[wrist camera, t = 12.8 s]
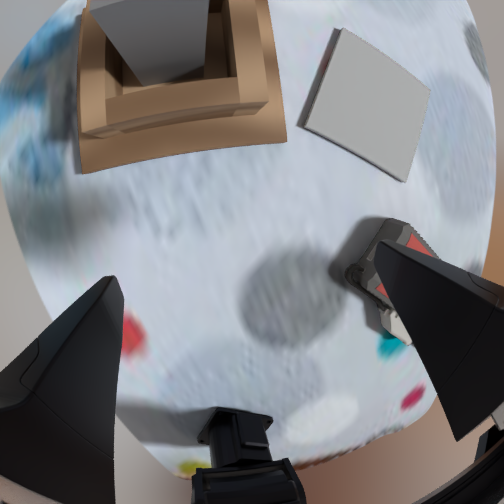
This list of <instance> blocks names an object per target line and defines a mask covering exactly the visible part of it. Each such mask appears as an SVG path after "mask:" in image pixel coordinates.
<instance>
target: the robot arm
mask: <svg viewBox="0 0 504 504" xmlns="http://www.w3.org/2000/svg"><path fill="white" fill-rule="evenodd" d="M373 263H374V267H375V269H376V271H377V274H378V276H379V278H380V280H381V282H382V284H383V287H384V289H385V291H386V293H387V295H388V297H389V299H390V301H391V303H392V305H393V307H394V309H395V310H396V312H397V314H398V316H399V318H400V319H401V321H402V323H403V325H404V327H405V329H406V331H407V333H408V334H409V336H410V338H411V340H412V342H413V344H414V346H415V348H416V350H417V352H418V354H419V356H420V358H421V360H422V362H423V364H424V366H425V369H426V371H427V373H428V375H429V377H430V379H431V381H432V384H433V386H434V388H435V390H436V393H437V395H438V397H439V400H440V402H441V405H442V407H443V409H444V412H445V414H446V417H447V419H448V422H449V424H450V427H451V430H452V432H453V435H454V438H455V440H456V441H457V442H458V441H459V440H461V439H462V438H463V437H465V436H466V435H468V434H469V433H470V432H472V431H473V430H474V429H476V428H477V427H478V426H479V425H481V424H482V423H483V422H484V421H486V420H487V419H488V418H489V417H492V419H493V421H494V423H495V424H494V425H493V426H492V427H491V428H490V429H489V430H488V431H486V432H485V433H484V434H483V435H481V436H480V438H479V443H478V448H477V452H476V456H475V460H474V463H473V464H471V465H470V466H469V467H468V468H466V469H465V470H463V471H462V472H461V473H459V474H458V475H457V476H455V477H454V478H453V479H451V480H450V481H448V482H447V483H445V484H444V485H442V486H441V487H439V488H437V489H436V490H434V491H433V492H431V493H429V494H428V495H426V496H425V497H423V498H421V499H419V500H418V501H416V502H414V503H412V504H504V287H503V286H501V285H498V284H496V283H493V282H491V281H488V280H486V279H484V278H481V277H479V276H477V275H475V274H472V273H470V272H467V271H465V270H463V269H461V268H458V267H456V266H454V265H451V264H449V263H447V262H444V261H442V260H439V259H437V258H434V257H432V256H430V255H427V254H425V253H422V252H420V251H417V250H415V249H412V248H409V247H407V246H404V245H402V244H399V243H396V242H394V241H391V240H381V241H379V242H378V243H377V246H376V251H375V255H374V260H373ZM123 313H124V296H123V293H122V291H121V288H120V285H119V283H118V280H117V278H116V277H115V276H114V275H112V276H104V277H102V278H101V279H100V280H99V281H98V282H97V283H95V284H94V285H93V286H92V287H91V288H90V289H89V290H87V291H86V292H85V293H84V294H83V295H82V296H81V297H79V298H78V299H77V300H76V301H75V302H74V303H73V304H72V305H71V306H69V307H68V308H67V309H66V310H65V311H64V312H63V313H62V314H61V315H60V316H59V317H58V318H57V319H55V320H54V321H53V322H52V323H51V324H50V325H49V326H48V327H47V328H46V329H45V330H44V331H43V332H42V333H41V334H40V335H39V336H38V338H36V339H35V340H34V341H33V342H32V343H31V344H30V345H29V346H28V347H27V348H26V349H25V350H24V351H23V352H22V353H21V354H20V355H19V356H17V357H16V358H15V359H14V360H13V361H12V362H11V363H10V364H9V365H8V366H7V367H5V369H3V370H2V371H1V372H0V504H115V486H114V460H113V458H114V424H115V406H116V393H117V382H118V372H119V363H120V355H121V348H122V337H123ZM272 423H273V418H272V417H270V416H263V415H257V414H251V413H245V412H240V411H234V410H229V409H224V408H217V409H216V410H215V411H214V413H213V415H212V416H211V418H210V419H209V421H208V422H207V424H206V426H205V427H204V429H203V430H202V432H201V433H200V435H199V436H198V438H197V441H198V443H201V444H206V445H209V447H210V457H211V466H212V468H204V469H202V468H196V474H194V475H193V476H192V498H191V504H307V503H306V496H305V492H304V489H303V486H302V484H301V482H300V480H299V478H298V476H297V474H296V472H295V470H294V469H293V467H292V465H291V463H290V461H289V459H288V458H283V459H282V460H277V461H273V460H272V457H271V453H270V450H269V442H268V439H267V435H266V432H265V431H266V430H267V429H268V428H269V427H270V425H271V424H272Z"/></svg>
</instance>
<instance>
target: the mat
mask: <svg viewBox="0 0 504 504" xmlns="http://www.w3.org/2000/svg"><path fill="white" fill-rule="evenodd" d="M429 95H430V89H429V88H428V87H427V86H425V85H424V84H423V83H422V82H421V81H420V80H418V79H417V78H416V77H415V76H413V75H412V74H411V73H410V72H408V71H407V70H406V69H405V68H403V67H402V66H401V65H399V64H398V63H397V62H395V61H394V60H393V59H391V58H390V57H389V56H387V55H386V54H384V53H383V52H381V51H380V50H379V49H377V48H376V47H374V46H373V45H371V44H370V43H368V42H366V41H365V40H363V39H362V38H360V37H358V36H357V35H355V34H354V33H352V32H350V31H348V30H347V29H345V28H342V29H341V30H340V33H339V35H338V38H337V41H336V43H335V46H334V49H333V51H332V54H331V57H330V59H329V62H328V64H327V67H326V70H325V72H324V75H323V78H322V80H321V83H320V85H319V88H318V91H317V93H316V96H315V98H314V101H313V104H312V106H311V109H310V111H309V114H308V117H307V119H306V122H305V125H304V128H306V129H308V130H311V131H313V132H315V133H317V134H319V135H321V136H323V137H325V138H327V139H329V140H331V141H332V142H334V143H336V144H338V145H340V146H342V147H344V148H346V149H347V150H349V151H351V152H353V153H355V154H356V155H358V156H360V157H362V158H364V159H365V160H367V161H369V162H370V163H372V164H374V165H375V166H377V167H379V168H380V169H382V170H384V171H385V172H387V173H388V174H390V175H392V176H393V177H395V178H396V179H398V180H399V181H401V182H404V183H406V181H407V178H408V175H409V171H410V168H411V165H412V162H413V158H414V155H415V152H416V148H417V145H418V141H419V137H420V134H421V130H422V126H423V122H424V118H425V113H426V109H427V105H428V100H429Z"/></svg>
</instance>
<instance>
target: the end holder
mask: <svg viewBox="0 0 504 504" xmlns="http://www.w3.org/2000/svg"><path fill="white" fill-rule="evenodd" d="M90 1H91V0H87V5H86V8H83V12H82V19H81V27H80V36H79V47H78V64H77V118H78V135H79V147H80V157H81V166H82V174H89V173H93V172H97V171H101V170H105V169H109V168H113V167H118V166H122V165H126V164H131V163H136V162H141V161H146V160H151V159H156V158H161V157H167V156H173V155H179V154H185V153H192V152H199V151H206V150H213V149H221V148H230V147H239V146H250V145H261V144H275V143H285V142H287V133H286V124H285V116H284V107H283V99H282V91H281V84H280V76H279V69H278V62H277V55H276V49H275V42H274V36H273V30H272V24H271V18H270V12H269V6H268V1H267V0H209V8H208V19H207V32H206V46H205V63H204V77H203V78H194V79H187V80H180V81H173V82H167V83H161V84H156V85H151V86H146V87H143V85H142V84H141V83H140V81H139V80H138V78H137V77H136V76H135V74H134V73H133V71H132V70H131V69H130V67H129V66H128V64H127V63H126V62H125V60H124V59H123V57H122V56H121V55H120V53H119V52H118V51H117V49H116V48H115V46H114V45H113V44H112V42H111V41H110V39H109V38H108V37H107V35H106V34H105V32H104V31H103V30H102V28H101V27H100V26H99V24H98V23H97V21H96V20H95V19H94V17H93V16H92V14H91V13H90V12H89V7H90Z"/></svg>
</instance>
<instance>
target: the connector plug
mask: <svg viewBox="0 0 504 504" xmlns="http://www.w3.org/2000/svg"><path fill="white" fill-rule="evenodd" d="M208 8H209V0H91V1H90V7H89V12H90V13H91V14H92V16H93V17H94V19H95V20H96V21H97V23H98V24H99V26H100V27H101V28H102V30H103V31H104V32H105V34H106V35H107V37H108V38H109V39H110V41H111V42H112V44H113V45H114V46H115V48H116V49H117V51H118V52H119V53H120V55H121V56H122V57H123V59H124V60H125V62H126V63H127V64H128V66H129V67H130V69H131V70H132V71H133V73H134V74H135V76H136V77H137V78H138V80H139V81H140V83H141V84H142V85H143V87H146V86H151V85H156V84H161V83H167V82H173V81H180V80H187V79H194V78H203V77H204V63H205V46H206V32H207V19H208Z"/></svg>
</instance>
